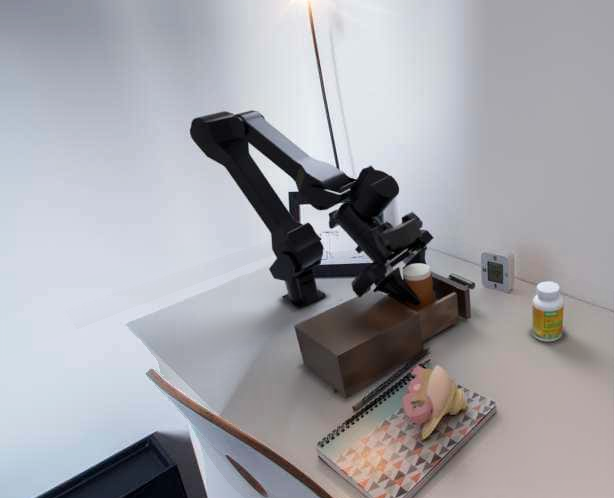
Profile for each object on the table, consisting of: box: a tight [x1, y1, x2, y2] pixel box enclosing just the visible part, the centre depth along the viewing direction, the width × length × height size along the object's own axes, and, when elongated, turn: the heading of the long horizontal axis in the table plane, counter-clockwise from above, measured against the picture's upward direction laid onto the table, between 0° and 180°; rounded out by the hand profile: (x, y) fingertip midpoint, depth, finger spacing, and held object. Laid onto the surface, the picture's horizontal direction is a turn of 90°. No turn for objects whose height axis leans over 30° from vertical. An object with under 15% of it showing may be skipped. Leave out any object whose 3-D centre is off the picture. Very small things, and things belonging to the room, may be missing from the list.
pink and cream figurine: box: [401, 364, 469, 440], centre depth 75 cm, size 9×10×10 cm
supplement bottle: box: [531, 280, 565, 343], centre depth 93 cm, size 5×5×10 cm
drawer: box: [383, 270, 476, 342], centre depth 97 cm, size 19×11×6 cm, turn 137°
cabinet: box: [293, 288, 425, 399], centre depth 88 cm, size 16×13×8 cm
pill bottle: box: [402, 263, 434, 312], centre depth 95 cm, size 5×5×10 cm
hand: (426, 296), depth 94 cm, fingers closed on pill bottle, 5 cm apart
